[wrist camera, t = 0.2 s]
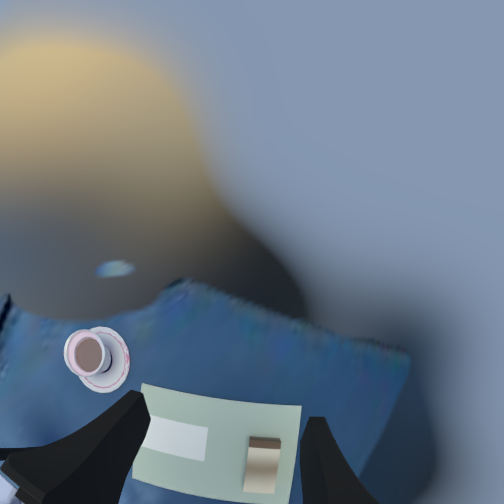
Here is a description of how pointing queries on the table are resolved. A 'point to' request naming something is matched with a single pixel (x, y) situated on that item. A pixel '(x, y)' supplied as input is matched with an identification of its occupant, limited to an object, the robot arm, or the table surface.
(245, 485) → the brown-topped white block
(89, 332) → the teacup
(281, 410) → the mat
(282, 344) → the table surface
